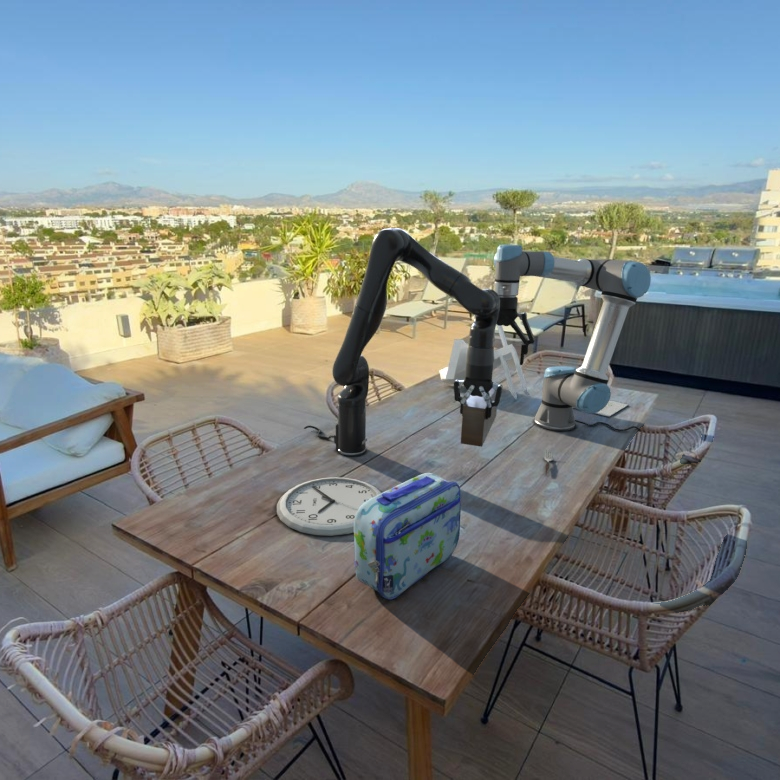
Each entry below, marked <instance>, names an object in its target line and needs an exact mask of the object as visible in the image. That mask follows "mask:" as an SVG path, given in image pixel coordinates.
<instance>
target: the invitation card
mask: <svg viewBox="0 0 780 780" xmlns="http://www.w3.org/2000/svg"><path fill="white" fill-rule="evenodd" d="M628 406H629V404H627V403H623V402H618V401H614V400H609V402H608V403H607V405H606V406H605V407H604V408H603V409H602V410H600V411H599V412H597V413H595V414H596V415H600V416H604V417H608V418H609V417H611V416H613V415H614V414H616V413H617V412H619V411H621V410H623V409H624V408H626V407H628ZM575 410H578V409H577V408H575Z"/></svg>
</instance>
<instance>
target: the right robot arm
mask: <svg viewBox="0 0 780 780" xmlns="http://www.w3.org/2000/svg"><path fill="white" fill-rule="evenodd" d="M493 265H494V268H495V270H494V282H493V283H494V284H493V290H494V291H495V292H496V293H497V294H498V296H499V299H500V309H499V315H498V319H497V323H496V324H497V325H498V326H501V325H502V326H503V327H509V326H510V327H511V328H512V329H513V330H514V332H515V333H516V335H517V336H518V337H519V339H520V340H521V342H522V344H521V347H520V349H521V350H520V358H519V362H520V365H521V366H523V365H524V363H525V360H524V359H525V356H526V355H528V353H529V346H530V345H532V344H534V343H535V341H536V339H535V336H534V333H533V330H532V328H531V325H530V323H529V321H528V314H527V312H526V311H524V312H518V301H519V298H518V297H517V296H518V295H519V290H520V279H521V277H536V278H543V279H551V280H557V281H564V282H572V283H573V285H576V286H578V287H584V288H587V289H591V290H594V291H597V292H600V293H601V294H600V297H601V299H602V301H603V302H602V305H601V307H600V311H599V313H598V317H597V320H596V323H595V325H594V329H593V332H592V335H591V337H590V340H589V343H588V346H587V349H586V352H585V354H584V358H583V360H582V364H581V366H580V367H578V368H576V367H574V366H566V365H565V366H564V365H562V366H561V365H559V366H558V365H557V366H550V367H547V368H546V369H545V370H544V375H543V381H542V392H541V402H540V405H539V407H538V410H537V411H536V413H535V417H534V424H535V425H536V426H537V427H539V428H542V429H544V430H549V431H556V432H567V431H572V430H574V429H575V428H576V423H577V424H582V425H584V426H587V427H595V426H597V425H604V426H607V427H608V428H610V429H611V430H614V431H617V432H626V431H629V430H633V429H636V430H638V431H641V429H640V428H639V427H638V426H636V425H632V426H629V427H627V428H616V427H614V426H612V425H611V424H610V423H607V422H603V421H596V422H594V423H592V424H591V423H586V422H584V421H581V420H578V419H576V418H575V417H576V416H575V413H574V409H576V408H577V409H576V410H578V411H579V412H583V413H586V414H596V413H597V412H599V411H600V410H602V409H603V408H604V407H605V406H606V405H607V403H608V402H609V400H610V399H611V396H612V392H611V388H610V387H609V385H608V384H609V380H610V379H609V377H608V375H607V372H608V370H609V366H610V363H611V360H612V358H613V354H614V352H615V350H616V346H617V343H618V340H619V338H620V335H621V332H622V328H623V327H624V323H625V321H626V318H627V316H628V315H627V314H628V312H629V308H631V307H632V306H634V305H636V303H637V300H638V298H641V297H644V296H645V295H646V294H647V293H648V291H649V289H650V287H651V282H652V277H651V273H650V270H649V268H648V266H647V265H646V264H645V263H643V262H640V261H635V260H625V259H624V260H623V259H612V258H601V259H597V258H596V259H591V258H580V259H578V260H576V259H571V258H565V257H560V256H554V255H553V254H552V252H550V251H544V250H540V251H539V250H538V251H537V250H523V246H522V245H521V244H499V246H497V249H496V253H495V255H494V257H493ZM518 318H519V320H520V321H521V322H522V325H523V328H524V330H525V332H526V334H525V333H524V332H523V331H522V329H521V327H520V326H519V325H518V323H517V322H516V320H517V319H518ZM497 325H496V326H497ZM526 335H527V336H526ZM610 401H611V400H610Z"/></svg>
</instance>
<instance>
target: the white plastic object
mask: <svg viewBox="0 0 780 780" xmlns="http://www.w3.org/2000/svg"><path fill="white" fill-rule="evenodd" d="M503 327H504V326H503V325H501V326H498V325H497V324H496V328H497V332H498V335H499V338H500V342H501V345H502V347H500V348H498V349H496V350H495V349H494V362H493V371H495V370H496V369H497V368H499V367H500V366H502V370H503V373H504V376H505V380H506V383H507V386H508V390H509V393H510V394H511V395H512V397H513V398H514V399H515V400H517V392H516V391H517V390H516V388H515V385H514V381H513V378H512V375H511V371H510V369H509V365H508V361H510V360H513V363H514V366H515V369H516V372H517V376H518V380H519V382H520V385H521V389H522V391H523V393H524V395H525V396H526V397H528V396H531V395H530V390H529V388H528V387H529V386H528V384H527V381H526V378H525V375H524V371H523V369H522V368H523V367H522V365H520V358H519V355H518V352H517V349H516V347H515V346H514V345H513V343H511V344H508V341H507V337H506V334H505V331H504V328H503ZM468 345H469V344H468V343H466V342H465V340H464V339H463V338H460V339H458V338H454V340H453V344H452V349H451V353H450V357H449V362H448V366H446V367H444V368H442V369H440V370H439V371H438V372H439V376H440V381H442V383H443V384H444V385H445V386H449V385H454V382H455V381H456V380H457V379H458V380H460V381H464V380H465V375H466V361H467V351H468Z"/></svg>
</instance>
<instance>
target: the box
mask: <svg viewBox="0 0 780 780" xmlns="http://www.w3.org/2000/svg"><path fill="white" fill-rule="evenodd" d="M492 382H493V384H495V385H500V382H497V381H492ZM489 394H490V397H491V400H492V401H495V396H496V393H495V392H494V389H493V388H492V389H491V390H490V391H489ZM486 408H487V404H486V402H485V401H484V398H483V396H482V397H479V396H471V395H469V397H468V399H467V400H466V403H465V404H464V406H463V416H462V415H461V416H462V417H461V431H460V432H461V433H460V444H461V445H467V446H473V447H481V448H482V447H483V445H484V443H485V441H486V439H487V437H488V434H489V432H490V430H491V428H492V426H493V424H494V422H495V420H496V417H497V412H498V406H494V407H492V414H491V417H490V418H489V419H488V420H487V419H486Z"/></svg>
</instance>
